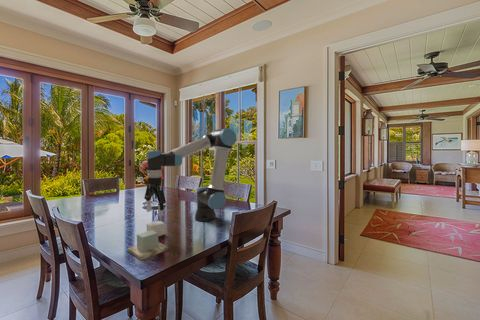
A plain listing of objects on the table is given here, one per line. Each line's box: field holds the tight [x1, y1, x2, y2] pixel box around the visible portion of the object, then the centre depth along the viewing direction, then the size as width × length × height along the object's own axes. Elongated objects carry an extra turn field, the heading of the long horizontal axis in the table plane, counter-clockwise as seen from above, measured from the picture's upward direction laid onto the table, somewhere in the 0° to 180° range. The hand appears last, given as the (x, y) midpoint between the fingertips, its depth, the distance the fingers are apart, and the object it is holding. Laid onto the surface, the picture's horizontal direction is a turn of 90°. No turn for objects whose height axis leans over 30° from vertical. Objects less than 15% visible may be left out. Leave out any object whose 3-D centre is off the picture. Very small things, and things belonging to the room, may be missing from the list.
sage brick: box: [136, 230, 159, 252], centre depth 115 cm, size 8×6×7 cm
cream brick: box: [146, 220, 166, 237], centre depth 135 cm, size 8×6×7 cm
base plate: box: [126, 241, 169, 261], centre depth 115 cm, size 14×14×2 cm
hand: (154, 213), depth 134 cm, fingers open, 13 cm apart
